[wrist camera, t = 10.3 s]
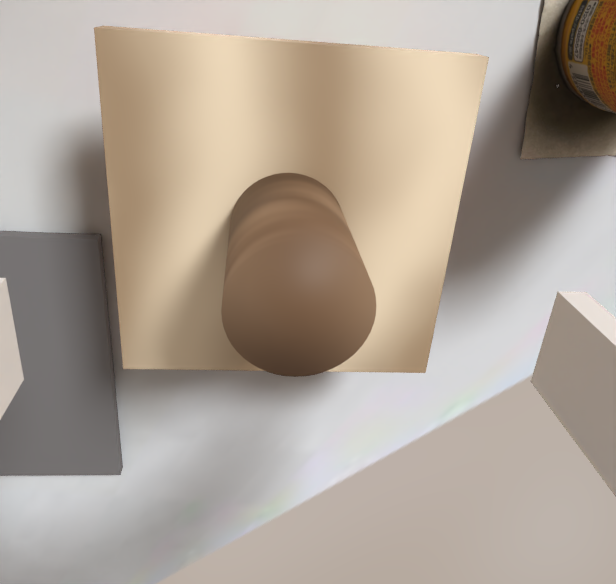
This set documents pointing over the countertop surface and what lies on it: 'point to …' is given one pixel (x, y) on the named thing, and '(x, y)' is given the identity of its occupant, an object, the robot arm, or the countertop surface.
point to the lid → (281, 198)
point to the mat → (59, 358)
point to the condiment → (573, 82)
